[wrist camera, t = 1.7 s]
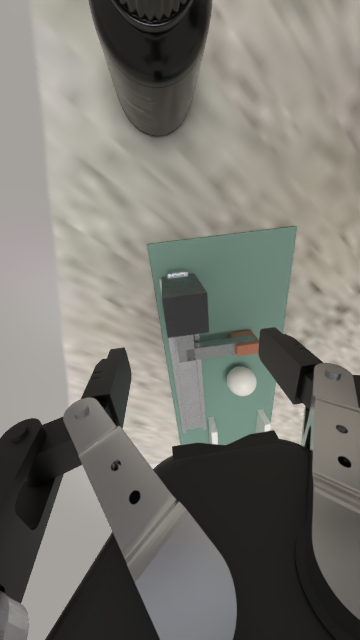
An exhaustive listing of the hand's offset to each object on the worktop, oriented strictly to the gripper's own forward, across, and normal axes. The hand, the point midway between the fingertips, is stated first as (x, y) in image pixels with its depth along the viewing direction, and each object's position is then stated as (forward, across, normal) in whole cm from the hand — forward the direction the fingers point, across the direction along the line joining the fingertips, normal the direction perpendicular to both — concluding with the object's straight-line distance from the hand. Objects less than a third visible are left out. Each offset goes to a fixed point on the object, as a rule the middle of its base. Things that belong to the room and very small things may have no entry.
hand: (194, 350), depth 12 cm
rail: (+16, 0, +13) cm, 21 cm away
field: (+16, -6, +16) cm, 23 cm away
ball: (+13, -8, +16) cm, 22 cm away
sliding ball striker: (+15, -4, +4) cm, 16 cm away
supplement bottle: (+16, 0, -18) cm, 24 cm away
